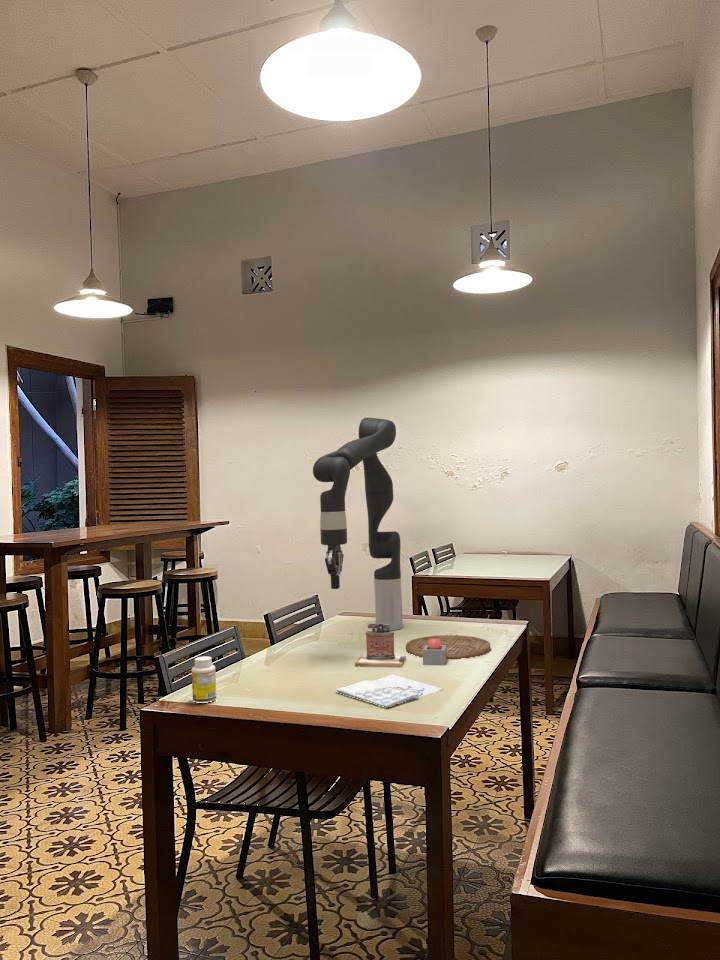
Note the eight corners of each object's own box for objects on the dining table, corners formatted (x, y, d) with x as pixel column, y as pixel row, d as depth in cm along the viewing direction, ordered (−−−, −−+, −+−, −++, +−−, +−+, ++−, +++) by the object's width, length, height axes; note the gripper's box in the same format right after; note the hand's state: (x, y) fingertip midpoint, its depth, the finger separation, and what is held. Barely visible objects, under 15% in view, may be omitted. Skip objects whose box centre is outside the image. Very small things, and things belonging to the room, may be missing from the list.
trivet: (418, 639, 234) (418, 633, 234) (497, 643, 225) (496, 636, 225) (395, 658, 210) (395, 651, 210) (481, 662, 202) (481, 656, 202)
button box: (425, 659, 206) (424, 645, 206) (446, 659, 205) (446, 645, 205) (423, 664, 200) (422, 650, 200) (445, 665, 199) (444, 650, 199)
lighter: (395, 657, 206) (394, 621, 206) (394, 660, 203) (393, 624, 203) (367, 657, 207) (365, 622, 207) (365, 660, 203) (364, 624, 203)
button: (429, 653, 205) (429, 638, 205) (441, 653, 204) (440, 638, 204) (428, 656, 201) (427, 641, 201) (440, 656, 201) (439, 641, 201)
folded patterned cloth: (333, 695, 177) (333, 686, 177) (394, 678, 190) (394, 670, 190) (386, 712, 162) (385, 702, 162) (448, 693, 175) (448, 684, 175)
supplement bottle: (195, 698, 176) (194, 655, 176) (218, 697, 176) (217, 654, 176) (190, 705, 171) (188, 661, 171) (213, 704, 170) (212, 660, 170)
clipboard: (361, 658, 210) (361, 653, 210) (406, 659, 207) (405, 654, 207) (354, 666, 201) (354, 661, 201) (401, 667, 198) (401, 662, 198)
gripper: (341, 529, 200) (343, 592, 200) (351, 525, 213) (353, 585, 213) (314, 529, 201) (316, 592, 201) (326, 526, 214) (328, 585, 214)
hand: (335, 588), depth 207 cm, fingers closed
